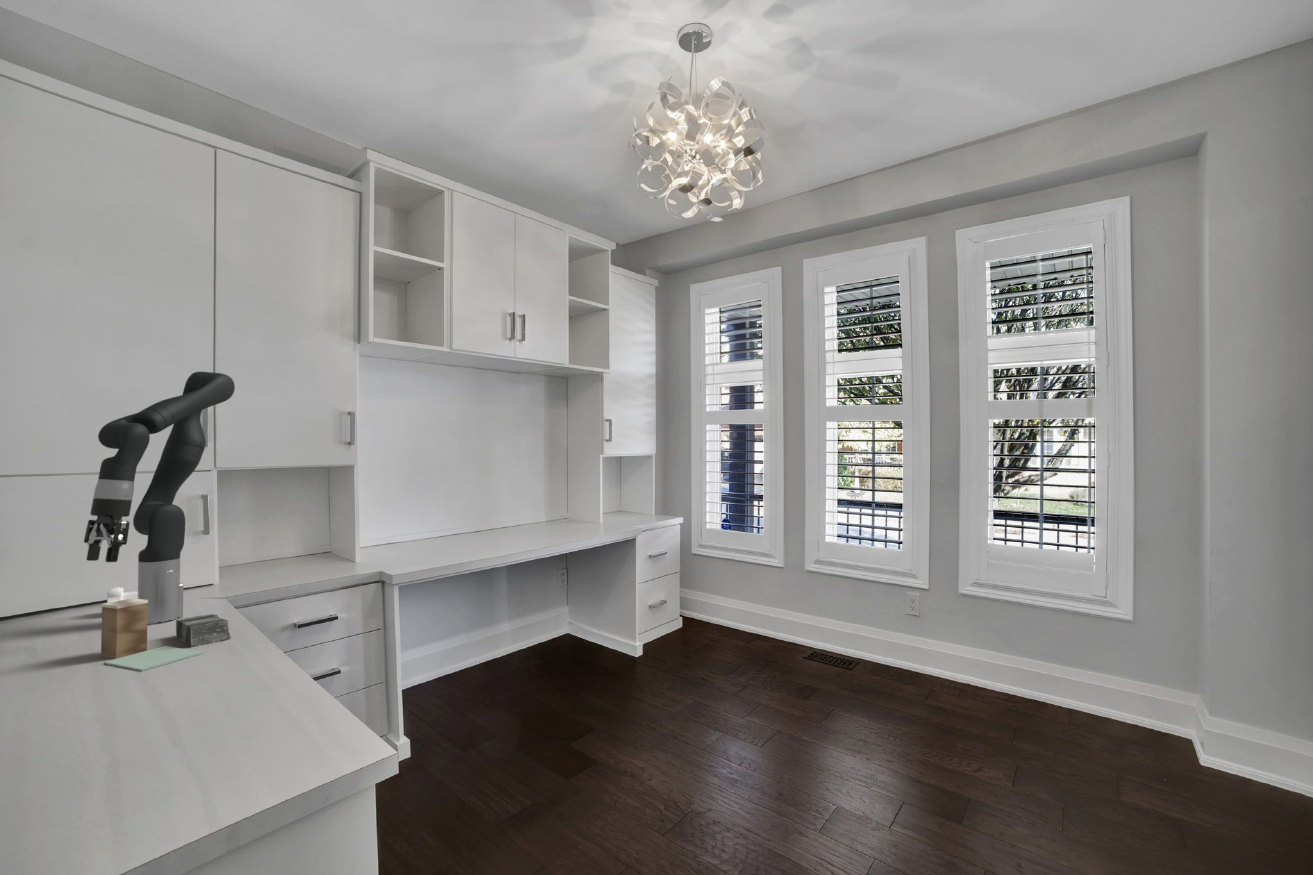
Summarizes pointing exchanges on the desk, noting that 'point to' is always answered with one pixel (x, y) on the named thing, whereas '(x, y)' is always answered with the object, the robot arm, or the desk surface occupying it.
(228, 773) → the desk surface
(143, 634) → the walnut block
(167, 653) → the sage mat
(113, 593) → the bone shaped toy
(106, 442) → the robot arm
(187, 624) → the stone block
